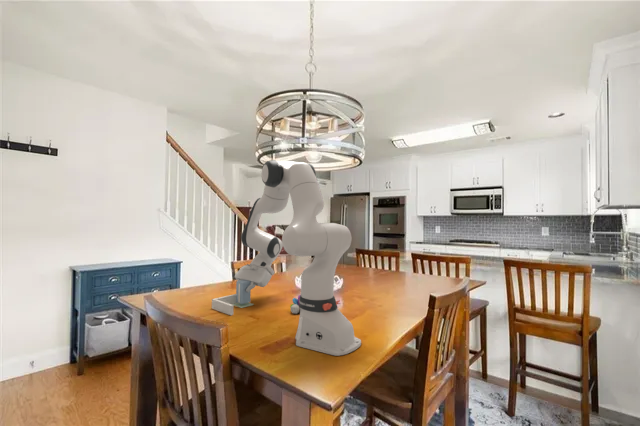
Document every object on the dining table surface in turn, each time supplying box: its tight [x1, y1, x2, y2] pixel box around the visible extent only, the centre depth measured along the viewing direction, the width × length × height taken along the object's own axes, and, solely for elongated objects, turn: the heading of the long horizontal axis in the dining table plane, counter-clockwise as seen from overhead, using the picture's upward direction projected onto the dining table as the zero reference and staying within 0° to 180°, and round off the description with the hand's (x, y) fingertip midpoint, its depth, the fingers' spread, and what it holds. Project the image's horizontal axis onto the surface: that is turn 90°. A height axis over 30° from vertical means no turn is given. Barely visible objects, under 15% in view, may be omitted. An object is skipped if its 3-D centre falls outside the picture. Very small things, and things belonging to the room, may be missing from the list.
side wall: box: [213, 298, 235, 316], centre depth 135 cm, size 13×1×4 cm, turn 50°
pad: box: [232, 302, 255, 309], centre depth 145 cm, size 7×7×1 cm
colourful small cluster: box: [289, 294, 301, 315], centre depth 136 cm, size 8×10×7 cm
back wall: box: [211, 293, 237, 310], centre depth 145 cm, size 1×16×4 cm, turn 140°
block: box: [235, 280, 252, 304], centre depth 145 cm, size 4×5×10 cm
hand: (242, 290), depth 145 cm, fingers closed on block, 4 cm apart
